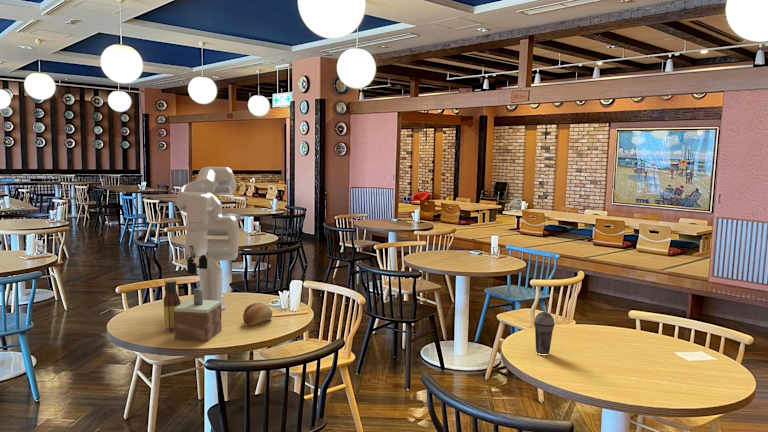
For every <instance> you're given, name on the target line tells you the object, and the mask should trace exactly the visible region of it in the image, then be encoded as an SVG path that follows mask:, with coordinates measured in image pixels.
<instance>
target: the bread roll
mask: <svg viewBox="0 0 768 432" xmlns="http://www.w3.org/2000/svg"><path fill="white" fill-rule="evenodd" d="M272 318H273V311H272V309H271V307H270V306H269V305H267V304H265V303H262V302H255V303H254V302H253V303H252V304H248V306H246V308H245V309H244V311H243V316H242V319H243V323H244V324H245V326H249V327H251V326H254V325H257V324H260V323H263V322H268V321H270V320H271V319H272Z"/></svg>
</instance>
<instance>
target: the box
mask: <svg viewBox="0 0 768 432" xmlns="http://www.w3.org/2000/svg"><path fill="white" fill-rule="evenodd" d="M222 327H223V326H222V310H221V304H220V305H219V306H217V307H216V308H214V309H213V310H211V311H210V312H208V313H197V312H180V311H174V332H173V333H174V340H176V341H191V342H192V341H194V342H207V343H208V342H209V341H211V340H212V339H213V338H214V337H216V336H217V335H218V334H220V333H221V332H222Z"/></svg>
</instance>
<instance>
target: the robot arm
mask: <svg viewBox="0 0 768 432" xmlns="http://www.w3.org/2000/svg"><path fill="white" fill-rule="evenodd" d="M236 190H237V182H236V179H235V175H234V171H233V170H232V169H231V168H229V167H227V166H205V167H202V168H201V169H200V170H199V172H198V174H197V177H196V179H195V180H192V181H191V182H187V183H186V184H183V186H181V187H180V189H179V191H178V194H177V196H176V206H177V209H179V211H181V212H185V213H186V235H185V243H184V245H185V248H184V251H185V252H184V253H185V254H184V255H185V260H186V264H187V265H186V266H187V269H186V270H187V274H190V275H191V274H192V275H196V274H197V263H196V262H197V261H196V260H197V258H198V269H199V288H202V293H203V300H213V301H221V311H223V310H225V309H226V308H227V305H226V304H225V303H223V300H224V299H225V296H224V295H223V269H222V267H221V265H220V264H219V263H218V261H235V260H236V259H237V258H238V256H239V239H240V238H239V234H240V232H239V230H240V229H239V220H238V219H237V217H235V216H234V215H223V205H222V203H221V201H220V200H219V199H218V198H217V197H216V196H231V195H232V196H233V195H234V194H235V193H236ZM208 237H210V238H209V239H208ZM211 237H212V238H211ZM215 237H216V238H215ZM218 237H221V239H220V238H218ZM223 237H224V238H223ZM225 237H226V238H225ZM227 238H228V239H227Z"/></svg>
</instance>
